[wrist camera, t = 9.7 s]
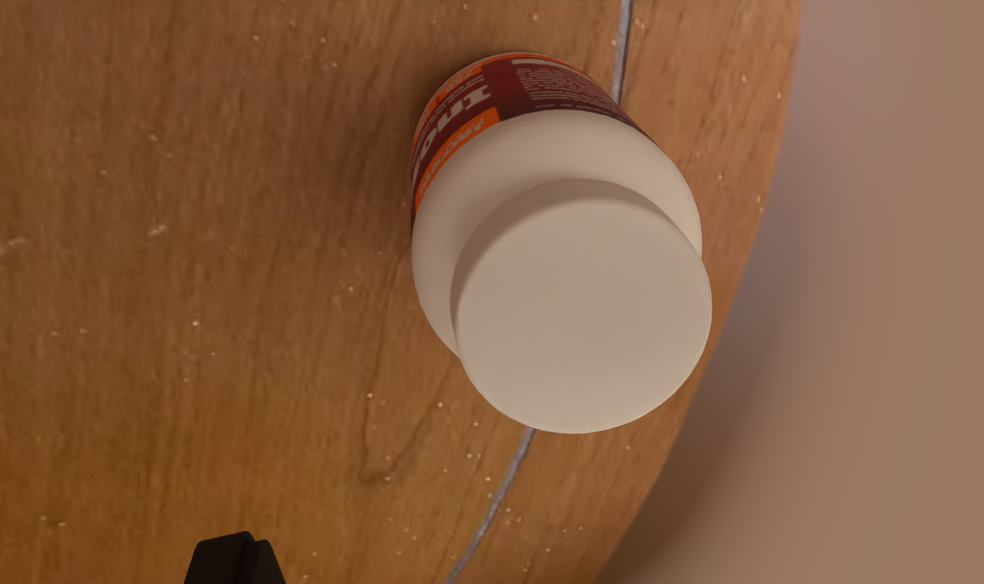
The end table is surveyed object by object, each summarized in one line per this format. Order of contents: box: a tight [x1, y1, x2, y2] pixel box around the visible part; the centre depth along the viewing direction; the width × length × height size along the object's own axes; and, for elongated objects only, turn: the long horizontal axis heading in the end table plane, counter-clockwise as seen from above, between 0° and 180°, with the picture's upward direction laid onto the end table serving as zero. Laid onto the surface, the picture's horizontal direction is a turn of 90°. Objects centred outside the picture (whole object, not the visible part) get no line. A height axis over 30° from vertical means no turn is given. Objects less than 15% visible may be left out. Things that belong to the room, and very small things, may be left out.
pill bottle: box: [411, 52, 712, 433], centre depth 20 cm, size 6×6×11 cm
